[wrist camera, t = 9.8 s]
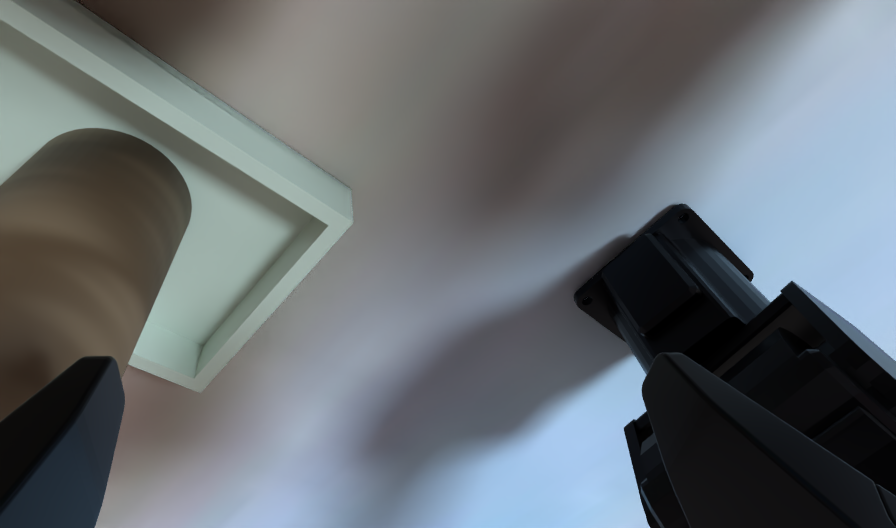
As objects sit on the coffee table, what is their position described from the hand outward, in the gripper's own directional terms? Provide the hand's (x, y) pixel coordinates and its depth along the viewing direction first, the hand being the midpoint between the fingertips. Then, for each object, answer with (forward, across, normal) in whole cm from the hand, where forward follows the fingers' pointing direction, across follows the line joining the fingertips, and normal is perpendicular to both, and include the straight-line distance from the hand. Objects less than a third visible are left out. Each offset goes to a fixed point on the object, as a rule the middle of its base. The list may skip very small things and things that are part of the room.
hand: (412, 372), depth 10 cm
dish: (+13, +9, +4) cm, 16 cm away
